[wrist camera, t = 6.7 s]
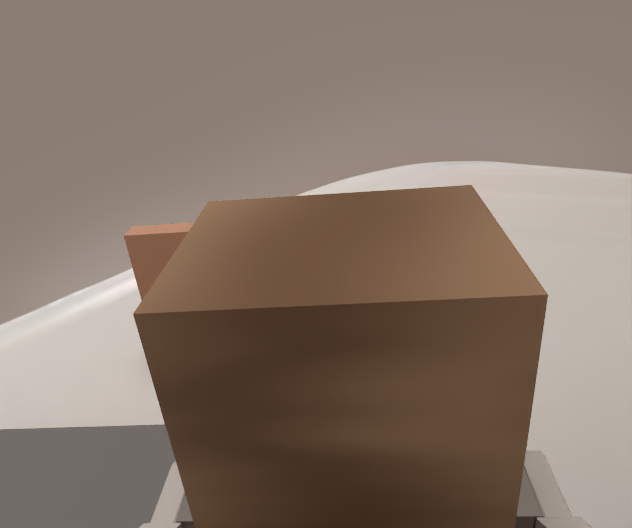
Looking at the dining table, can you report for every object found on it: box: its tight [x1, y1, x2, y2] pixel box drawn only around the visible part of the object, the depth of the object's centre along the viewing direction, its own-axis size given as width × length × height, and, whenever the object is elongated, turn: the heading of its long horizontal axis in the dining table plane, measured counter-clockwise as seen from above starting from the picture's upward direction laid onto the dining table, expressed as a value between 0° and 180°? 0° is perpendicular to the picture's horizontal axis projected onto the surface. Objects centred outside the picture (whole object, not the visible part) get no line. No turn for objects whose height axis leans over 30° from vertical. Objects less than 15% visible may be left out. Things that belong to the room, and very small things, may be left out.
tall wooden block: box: [133, 185, 548, 528], centre depth 11 cm, size 5×5×14 cm
